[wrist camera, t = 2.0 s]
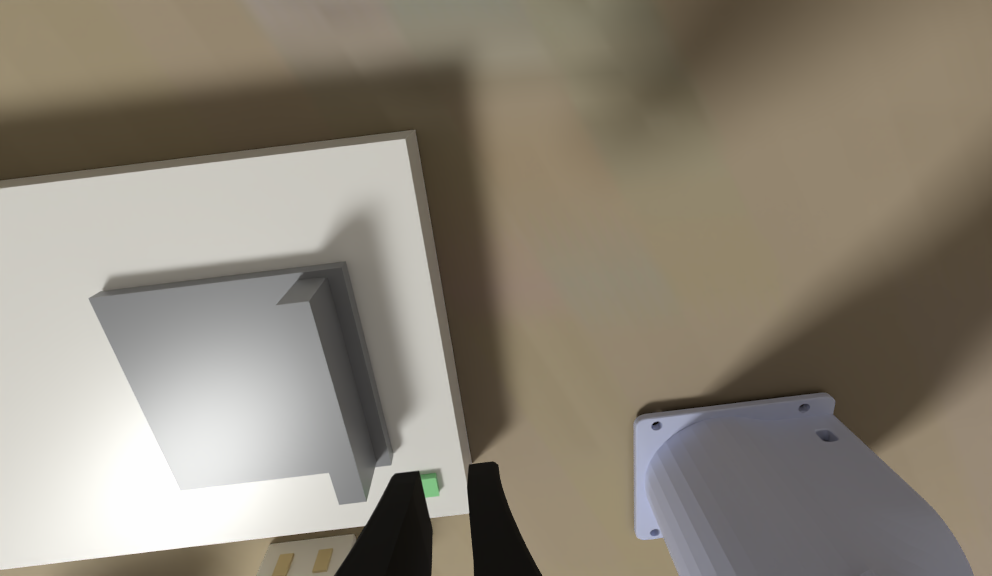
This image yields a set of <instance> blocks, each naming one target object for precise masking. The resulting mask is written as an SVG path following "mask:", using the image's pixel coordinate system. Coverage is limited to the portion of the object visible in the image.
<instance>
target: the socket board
mask: <svg viewBox="0 0 992 576" xmlns="http://www.w3.org/2000/svg"><path fill="white" fill-rule="evenodd" d="M344 261H346V264H347V268H348V272H349V276H350V280H351V284H352V288H353V292H354V297H355V301H356V305H357V309H358V313H359V317H360V321H361V325H362V329H363V333H364V337H365V341H366V345H367V349H368V353H369V357H370V361H371V365H372V369H373V373H374V377H375V381H376V385H377V390H378V394H379V398H380V402H381V406H382V410H383V414H384V418H385V422H386V426H387V430H388V434H389V438H390V442H391V446H392V450H393V454H394V456H393V460H392V465H390V466H382V467H375V470H374V474H373V478H372V482H371V486H370V490H369V494H368V498H367V502H359V503H351V504H343V505H339V503H338V500H337V497H336V493H335V490H334V487H333V484H332V481H331V478H330V475H329V473H323V474H315V475H307V476H299V477H290V478H282V479H274V480H265V481H257V482H249V483H241V484H232V485H224V486H216V487H207V488H199V489H191V490H182V491H180V489H179V486H178V484H177V482H176V480H175V478H174V476H173V474H172V472H171V470H170V468H169V466H168V464H167V461H166V459H165V457H164V455H163V453H162V451H161V449H160V447H159V445H158V443H157V441H156V439H155V436H154V434H153V432H152V430H151V428H150V426H149V424H148V422H147V420H146V418H145V416H144V414H143V411H142V409H141V407H140V405H139V403H138V401H137V399H136V397H135V395H134V393H133V391H132V389H131V386H130V384H129V382H128V380H127V378H126V376H125V374H124V372H123V370H122V368H121V366H120V364H119V361H118V359H117V357H116V355H115V353H114V351H113V349H112V347H111V345H110V343H109V341H108V339H107V336H106V334H105V332H104V330H103V328H102V326H101V324H100V322H99V320H98V318H97V316H96V314H95V311H94V309H93V307H92V305H91V303H90V301H89V299H88V298H90V297H91V296H93V295H95V294H97V293H98V292H100V291H107V290H115V289H123V288H131V287H139V286H148V285H156V284H164V283H172V282H180V281H189V280H197V279H205V278H213V277H221V276H230V275H238V274H246V273H254V272H262V271H271V270H279V269H287V268H295V267H303V266H312V265H320V264H328V263H336V262H344ZM469 464H472V460H471V455H470V449H469V443H468V437H467V431H466V425H465V419H464V413H463V407H462V402H461V396H460V390H459V384H458V378H457V372H456V366H455V360H454V354H453V348H452V343H451V337H450V331H449V325H448V319H447V313H446V307H445V301H444V295H443V289H442V284H441V278H440V272H439V266H438V260H437V254H436V248H435V242H434V236H433V231H432V225H431V219H430V213H429V207H428V201H427V195H426V189H425V183H424V177H423V172H422V166H421V160H420V154H419V148H418V142H417V136H416V130H408V131H400V132H392V133H383V134H375V135H367V136H359V137H351V138H343V139H335V140H326V141H318V142H310V143H302V144H294V145H286V146H278V147H269V148H261V149H253V150H245V151H237V152H229V153H221V154H212V155H204V156H196V157H188V158H180V159H172V160H164V161H155V162H147V163H139V164H131V165H123V166H115V167H107V168H98V169H90V170H82V171H74V172H66V173H58V174H50V175H41V176H33V177H25V178H17V179H9V180H1V181H0V569H1V570H2V569H11V568H19V567H27V566H35V565H44V564H52V563H60V562H69V561H77V560H85V559H94V558H102V557H110V556H119V555H127V554H135V553H144V552H152V551H160V550H169V549H177V548H185V547H194V546H202V545H210V544H219V543H227V542H235V541H243V540H252V539H260V538H268V537H277V536H285V535H293V534H302V533H310V532H318V531H327V530H335V529H343V528H352V527H360V526H365V525H366V524H367V522H368V520H369V519H370V517H371V515H372V513H373V511H374V510H375V508H376V506H377V504H378V502H379V500H380V499H381V497H382V495H383V493H384V491H385V489H386V487H387V485H388V483H389V481H390V479H391V477H392V476H393V475H394V474H395V473H402V472H411V471H419V472H420V477H421V481H422V485H423V490H424V494H425V499H426V503H427V508H428V512H429V516H430V518H435V517H443V516H452V515H460V514H468V513H469V505H468V494H467V479H468V468H469Z"/></svg>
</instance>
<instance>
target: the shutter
mask: <svg viewBox="0 0 992 576" xmlns="http://www.w3.org/2000/svg"><path fill="white" fill-rule="evenodd" d="M88 299H89V301H90V303H91V305H92V307H93V309H94V311H95V314H96V316H97V318H98V320H99V322H100V324H101V326H102V328H103V330H104V332H105V334H106V336H107V339H108V341H109V343H110V345H111V347H112V349H113V351H114V353H115V355H116V357H117V359H118V361H119V364H120V366H121V368H122V370H123V372H124V374H125V376H126V378H127V380H128V382H129V384H130V386H131V389H132V391H133V393H134V395H135V397H136V399H137V401H138V403H139V405H140V407H141V409H142V411H143V414H144V416H145V418H146V420H147V422H148V424H149V426H150V428H151V430H152V432H153V434H154V436H155V439H156V441H157V443H158V445H159V447H160V449H161V451H162V453H163V455H164V457H165V459H166V461H167V464H168V466H169V468H170V470H171V472H172V474H173V476H174V478H175V480H176V482H177V484H178V486H179V489H180V491H182V490H191V489H199V488H207V487H216V486H224V485H232V484H241V483H249V482H257V481H265V480H274V479H282V478H290V477H299V476H307V475H315V474H323V473H329V475H330V478H331V481H332V484H333V487H334V490H335V493H336V497H337V500H338V503H339V505H343V504H351V503H359V502H367V498H368V494H369V490H370V486H371V482H372V478H373V474H374V470H375V467H382V466H390V465H392V460H393V456H394V454H393V450H392V446H391V442H390V438H389V434H388V430H387V426H386V422H385V418H384V414H383V410H382V406H381V402H380V398H379V394H378V390H377V385H376V381H375V377H374V373H373V369H372V365H371V361H370V357H369V353H368V349H367V345H366V341H365V337H364V333H363V329H362V325H361V321H360V317H359V313H358V309H357V305H356V301H355V297H354V292H353V288H352V284H351V280H350V276H349V272H348V268H347V264H346V261H344V262H336V263H328V264H320V265H312V266H303V267H295V268H287V269H279V270H271V271H262V272H254V273H246V274H238V275H230V276H221V277H213V278H205V279H197V280H189V281H180V282H172V283H164V284H156V285H148V286H139V287H131V288H123V289H115V290H107V291H100V292H98V293H97V294H95V295H93V296H91V297H90V298H88Z"/></svg>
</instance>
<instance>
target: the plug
mask: <svg viewBox="0 0 992 576" xmlns="http://www.w3.org/2000/svg"><path fill="white" fill-rule="evenodd" d="M355 542H356V537H355V534H350V535H341V536H333V537H325V538H316V539H308V540H300V541H292V542H283V543H275V544H270V545H269V547H268V549H267V552H266V554H265V556H264V559H263V561H262V563H261V566H260V568H259V570H258V573H257V575H256V576H334V575H335V573H336V572H337V570H338V569H339V567H340V566H341V564H342V563H343V561H344V560H345V558H346V557H347V555H348V554H349V552H350V550H351V549H352V547H353V546H354V544H355Z"/></svg>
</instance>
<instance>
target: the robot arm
mask: <svg viewBox="0 0 992 576" xmlns="http://www.w3.org/2000/svg"><path fill="white" fill-rule="evenodd" d="M802 404H804V405H803V406H802V407H800V406H801V405H802ZM834 407H835V400H834V398H833V397H832V396H830V395H829V394H827V393H815V394H806V395H798V396H790V397H781V398H773V399H765V400H757V401H748V402H740V403H732V404H724V405H715V406H707V407H699V408H690V409H682V410H674V411H666V412H657V413H649V414H643V415H640V416H638V417H637V418H636V419H635V421H634V530H635V533H636V536H637V537H638V538H639V539H641V540H648V539H657V538H664V540H665V543H666V545H667V548H668V550H669V552H670V555H671V557H672V560H673V562H674V564H675V567H676V569H677V572H678V574H679V576H974V575H973V572H972V569H971V567H970V564H969V562H968V560H967V558H966V556H965V554H964V552H963V550H962V549H961V547H960V545H959V543H958V542H957V540H956V538H955V537H954V535H953V533H952V532H951V531H950V529H949V528H948V526H947V525H946V523H945V522H944V521H943V520H942V518H941V517H940V516H939V515H938V513H937V512H936V511H935V510H934V509H933V508H932V507H931V506H930V505H929V504H928V503H927V502H926V501H925V500H924V499H923V498H922V497H921V496H920V495H919V494H918V493H917V492H916V491H915V490H914V489H912V488H911V487H910V486H909V485H908V484H907V483H906V482H905V481H904V480H903V479H902V478H901V477H900V476H899V475H897V474H896V473H895V472H894V471H893V470H892V469H891V468H890V467H889V466H888V465H887V464H886V463H885V462H884V461H882V460H881V459H880V458H879V457H878V456H877V455H876V454H875V453H874V452H873V451H872V450H871V449H870V448H869V447H867V446H866V445H865V444H864V443H863V442H862V441H861V440H860V439H859V438H858V437H857V436H856V435H855V434H854V433H852V432H851V431H850V430H849V429H848V428H847V427H846V426H845V425H844V424H843V423H842V422H841V421H840V420H839V419H837V418H836V417H835V416H834V415H833V413H834ZM657 421H658V422H659V423H658V424H656V425H652V424H653V423H654V422H657ZM467 494H468V505H469V516H470V527H471V538H472V548H473V560H474V576H542V574H541V573H540V571H539V569H538V567H537V565H536V564H535V562H534V560H533V558H532V556H531V554H530V552H529V550H528V548H527V546H526V544H525V542H524V540H523V538H522V536H521V534H520V532H519V529H518V527H517V525H516V522H515V520H514V518H513V516H512V513H511V511H510V508H509V506H508V503H507V500H506V497H505V494H504V491H503V488H502V484H501V480H500V474H499V467H498V464H496V463H495V462H485V463H477V464H469V468H468V479H467ZM653 529H654V530H653ZM432 535H433V530H432V525H431V521H430V516H429V512H428V508H427V503H426V499H425V494H424V490H423V485H422V481H421V477H420V472H419V471H411V472H402V473H395V474H394V475H393V476H392V477H391V479H390V481H389V483H388V485H387V487H386V489H385V491H384V493H383V495H382V497H381V499H380V500H379V502H378V504H377V506H376V508H375V510H374V511H373V513H372V515H371V517H370V519H369V520H368V522H367V524H366V525H365V527H364V529H363V530H362V532H361V534H360V535H359V537H358V539H357V540H356V542H355V544H354V546H353V547H352V549H351V550H350V552H349V554H348V555H347V557H346V558H345V560H344V561H343V563H342V564H341V566H340V567H339V569H338V570H337V572H336V573H335V575H334V576H431V570H432Z"/></svg>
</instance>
